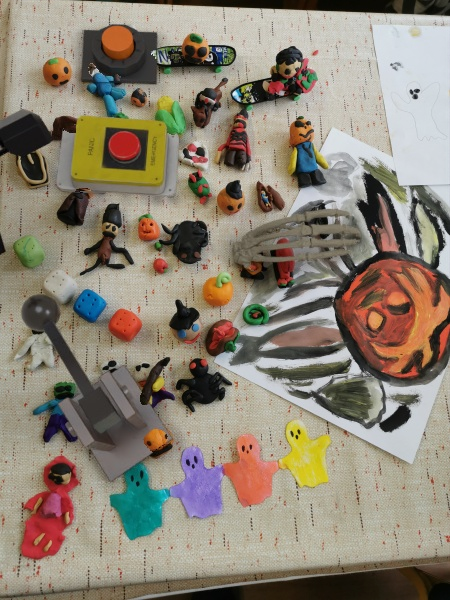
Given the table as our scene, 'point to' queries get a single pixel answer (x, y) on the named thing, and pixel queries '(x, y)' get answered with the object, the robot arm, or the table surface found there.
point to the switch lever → (69, 360)
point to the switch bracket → (123, 435)
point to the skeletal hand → (249, 251)
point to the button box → (131, 69)
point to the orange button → (117, 42)
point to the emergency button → (119, 157)
